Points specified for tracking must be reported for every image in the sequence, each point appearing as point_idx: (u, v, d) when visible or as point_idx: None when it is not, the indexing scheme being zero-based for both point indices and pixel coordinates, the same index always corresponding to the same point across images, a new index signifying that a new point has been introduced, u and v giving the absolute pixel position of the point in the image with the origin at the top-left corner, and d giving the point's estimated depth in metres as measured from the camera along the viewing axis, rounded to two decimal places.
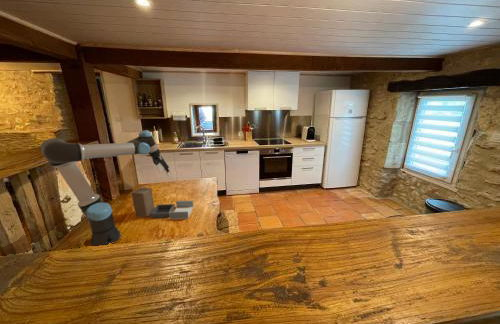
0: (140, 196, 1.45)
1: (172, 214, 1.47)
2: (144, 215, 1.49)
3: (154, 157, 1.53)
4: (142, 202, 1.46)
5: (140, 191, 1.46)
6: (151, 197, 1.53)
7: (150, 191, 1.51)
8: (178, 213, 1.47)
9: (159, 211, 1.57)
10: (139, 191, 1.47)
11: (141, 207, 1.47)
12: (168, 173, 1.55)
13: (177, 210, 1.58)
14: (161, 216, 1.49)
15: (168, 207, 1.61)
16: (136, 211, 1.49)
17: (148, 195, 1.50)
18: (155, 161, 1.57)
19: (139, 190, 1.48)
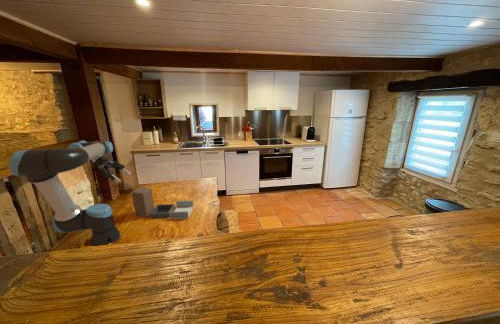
0: (140, 196, 1.45)
1: (172, 214, 1.47)
2: (144, 215, 1.49)
3: None
4: (142, 202, 1.46)
5: (140, 191, 1.46)
6: (151, 197, 1.53)
7: (150, 191, 1.51)
8: (178, 213, 1.47)
9: (159, 211, 1.57)
10: (139, 191, 1.47)
11: (141, 207, 1.47)
12: None
13: (177, 210, 1.58)
14: (161, 216, 1.49)
15: (168, 207, 1.61)
16: (136, 211, 1.49)
17: (148, 195, 1.50)
18: (109, 169, 1.39)
19: (139, 190, 1.48)
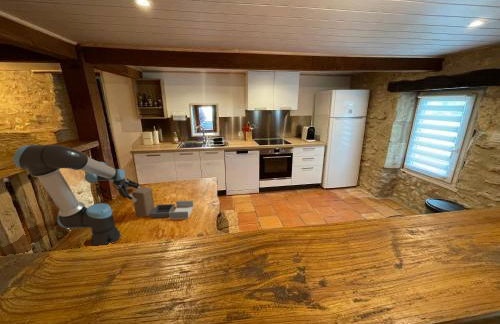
0: (140, 196, 1.45)
1: (172, 214, 1.47)
2: (144, 215, 1.49)
3: (123, 183, 1.47)
4: (142, 202, 1.46)
5: (141, 191, 1.46)
6: (151, 197, 1.53)
7: (150, 191, 1.52)
8: (178, 213, 1.47)
9: (159, 211, 1.57)
10: (139, 191, 1.47)
11: (141, 207, 1.47)
12: None
13: (177, 210, 1.58)
14: (161, 216, 1.49)
15: (168, 207, 1.61)
16: (137, 211, 1.49)
17: (148, 195, 1.50)
18: None
19: (139, 190, 1.49)
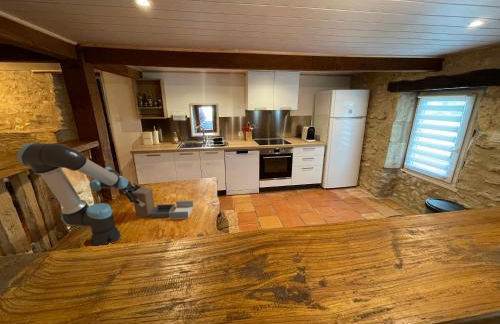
0: (142, 196, 1.45)
1: (172, 214, 1.47)
2: (145, 215, 1.49)
3: (129, 187, 1.47)
4: (144, 202, 1.46)
5: (142, 191, 1.46)
6: (152, 197, 1.53)
7: (151, 191, 1.52)
8: (178, 213, 1.47)
9: (159, 211, 1.57)
10: (140, 191, 1.47)
11: (142, 207, 1.47)
12: None
13: (177, 210, 1.58)
14: (161, 216, 1.49)
15: (168, 207, 1.61)
16: (137, 211, 1.49)
17: (149, 195, 1.50)
18: None
19: (140, 190, 1.48)
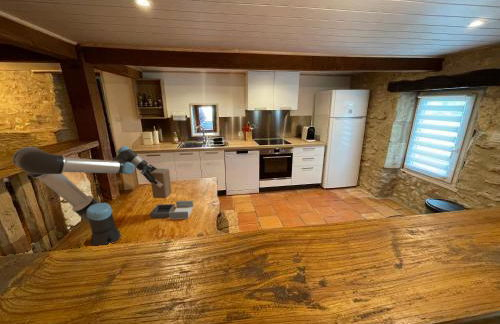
0: (160, 176, 1.42)
1: (172, 214, 1.47)
2: (163, 196, 1.46)
3: (146, 168, 1.43)
4: (162, 182, 1.43)
5: (159, 171, 1.43)
6: (169, 178, 1.50)
7: (168, 172, 1.49)
8: (178, 213, 1.47)
9: (159, 211, 1.57)
10: (158, 171, 1.44)
11: (160, 188, 1.44)
12: None
13: (177, 210, 1.58)
14: (161, 216, 1.49)
15: (168, 207, 1.61)
16: (155, 192, 1.45)
17: (167, 175, 1.47)
18: None
19: (157, 170, 1.45)
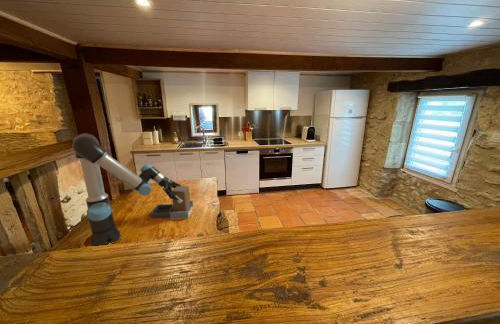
0: (181, 194, 1.46)
1: (172, 214, 1.47)
2: None
3: (168, 184, 1.48)
4: (183, 200, 1.48)
5: (180, 189, 1.48)
6: (188, 195, 1.55)
7: (188, 189, 1.53)
8: (178, 213, 1.47)
9: (159, 211, 1.57)
10: (179, 189, 1.48)
11: (181, 205, 1.49)
12: None
13: None
14: (161, 216, 1.49)
15: (168, 207, 1.61)
16: (176, 209, 1.50)
17: (187, 193, 1.52)
18: (171, 190, 1.46)
19: (178, 188, 1.50)
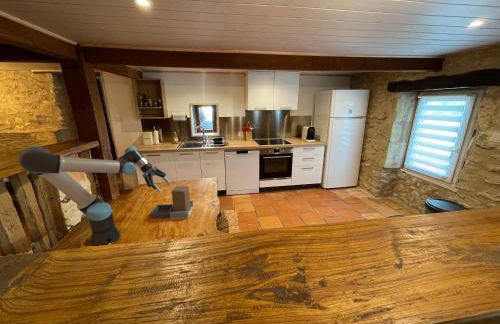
0: (181, 194, 1.46)
1: (172, 214, 1.47)
2: None
3: (150, 171, 1.41)
4: (183, 200, 1.48)
5: (180, 189, 1.48)
6: (188, 195, 1.55)
7: (188, 189, 1.53)
8: (178, 213, 1.47)
9: (159, 211, 1.57)
10: (179, 189, 1.48)
11: (181, 205, 1.49)
12: None
13: None
14: (161, 216, 1.49)
15: (168, 207, 1.61)
16: (176, 209, 1.50)
17: (187, 193, 1.52)
18: None
19: (178, 188, 1.50)
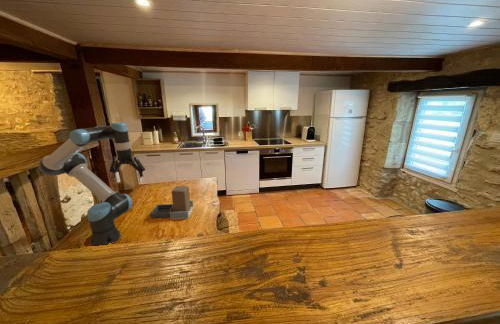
0: (181, 194, 1.46)
1: (172, 214, 1.47)
2: None
3: (122, 159, 1.20)
4: (183, 200, 1.48)
5: (180, 189, 1.48)
6: (188, 195, 1.55)
7: (188, 189, 1.53)
8: (178, 213, 1.47)
9: (159, 211, 1.57)
10: (179, 189, 1.48)
11: (181, 205, 1.49)
12: (140, 179, 1.25)
13: None
14: (161, 216, 1.49)
15: (168, 207, 1.61)
16: (176, 209, 1.50)
17: (187, 193, 1.52)
18: (118, 166, 1.21)
19: (178, 188, 1.50)
